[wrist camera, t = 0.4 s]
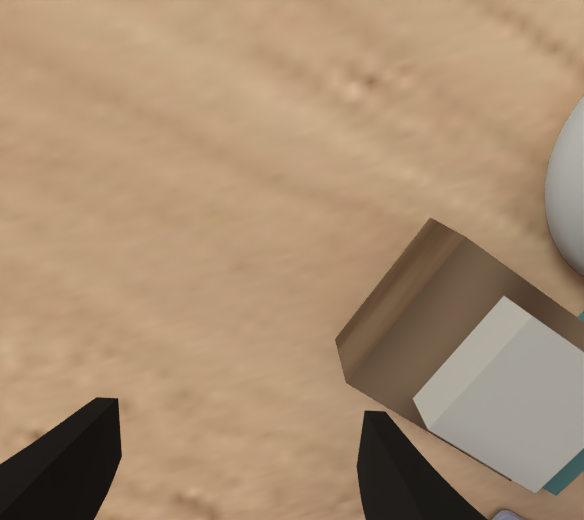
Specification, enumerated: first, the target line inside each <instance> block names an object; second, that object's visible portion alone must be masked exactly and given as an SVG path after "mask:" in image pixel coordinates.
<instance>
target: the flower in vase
mask: <svg viewBox="0 0 584 520" xmlns="http://www.w3.org/2000/svg"><path fill="white" fill-rule="evenodd" d="M545 211H546V217H547V222H548V227H549V230H550V233H551V235H552V238H553V241H554V243H555V245H556V247H557V248H558V250H559V252H560V254H561V255H562V256H563V258H564V259H565V260H566V261H567V263H568V264H569V265H570V266H571V267H572V268H573V269H574V270H575V271H577V272H578V273H579V274H580V275H581V276H583V277H584V96H583V98H582V99H581V100H580V102H579V103H578V104H577V106H576V107H575V108H574V110H573V111H572V113H571V114H570V116H569V118H568V120H567V121H566V123H565V125H564V126H563V128H562V130H561V132H560V134H559V136H558V139H557V141H556V143H555V145H554V148H553V151H552V154H551V157H550V160H549V163H548V168H547V174H546V179H545Z"/></svg>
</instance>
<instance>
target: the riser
mask: <svg viewBox="0 0 584 520" xmlns="http://www.w3.org/2000/svg"><path fill="white" fill-rule="evenodd" d="M503 296H505V297H507V298H508V299H509V300H511V301H512V302H514V303H515V304H517V305H518V306H519V307H521V308H522V309H524V310H525V311H526V312H528V313H529V314H531V315H532V316H534V317H535V318H536V319H538V320H539V321H541V322H542V323H543V324H545V325H546V326H548V327H549V328H551V329H552V330H553V331H555V332H556V333H558V334H559V335H560V336H562V337H563V338H565V339H566V340H568V341H569V342H570V343H572V344H573V345H575V346H576V347H577V348H579V349H580V350H582V351H583V352H584V322H582V321H581V320H580V319H578V318H577V317H576V316H574V315H573V314H571V313H570V312H569V311H567V310H566V309H565V308H563V307H562V306H560V305H559V304H558V303H556V302H555V301H553V300H552V299H551V298H549V297H548V296H547V295H545V294H544V293H542V292H541V291H540V290H538V289H537V288H536V287H534V286H533V285H531V284H530V283H529V282H527V281H526V280H524V279H523V278H522V277H520V276H519V275H518V274H516V273H515V272H513V271H512V270H511V269H509V268H508V267H507V266H505V265H504V264H502V263H501V262H500V261H498V260H497V259H495V258H494V257H493V256H491V255H490V254H489V253H487V252H486V251H484V250H483V249H482V248H480V247H479V246H478V245H476V244H475V243H473V242H472V241H471V240H469V239H468V238H466V237H465V236H463V235H461V234H459V233H458V232H456V231H454V230H452V229H450V228H448V227H447V226H445V225H443V224H441V223H439V222H437V221H436V220H434V219H432V218H430V219H429V220H428V222H427V223H426V224H425V225H424V227H423V228H422V229H421V231H420V232H419V233H418V234H417V236H416V237H415V238H414V239H413V241H412V242H411V243H410V245H409V246H408V247H407V248H406V250H405V251H404V252H403V253H402V255H401V256H400V257H399V259H398V260H397V261H396V262H395V264H394V265H393V266H392V268H391V269H390V270H389V271H388V273H387V274H386V275H385V276H384V278H383V279H382V280H381V282H380V283H379V284H378V285H377V287H376V288H375V289H374V290H373V292H372V293H371V294H370V296H369V297H368V298H367V299H366V301H365V302H364V303H363V305H362V306H361V307H360V308H359V310H358V311H357V312H356V313H355V315H354V316H353V317H352V319H351V320H350V321H349V322H348V324H347V325H346V326H345V327H344V329H343V330H342V331H341V333H340V334H339V335H338V336H337V338H336V339H335V341H336V345H337V349H338V353H339V357H340V361H341V365H342V369H343V373H344V377H345V381H346V383H347V384H349V385H351V386H352V387H354V388H356V389H357V390H359V391H361V392H362V393H364V394H366V395H367V396H369V397H371V398H372V399H374V400H376V401H377V402H379V403H381V404H382V405H384V406H386V407H387V408H389V409H391V410H393V411H394V412H396V413H398V414H399V415H401V416H403V417H404V418H406V419H408V420H409V421H411V422H413V423H414V424H416V425H418V426H419V427H421V428H423V429H424V430H426V431H428V432H429V433H431V434H433V435H434V436H436V437H438V438H439V439H441V440H443V441H445V442H446V443H448V444H450V445H451V446H453V447H455V448H456V449H458V450H460V451H461V452H463V453H465V454H466V455H468V456H470V457H471V458H473V459H475V460H476V461H478V462H480V463H481V464H483V465H485V466H486V467H488V468H490V469H491V470H493V471H495V472H497V473H498V474H500V475H502V476H503V477H505V478H507V479H508V480H510V481H512V480H511V479H510V478H508V477H506V476H505V475H503V474H501V473H500V472H498V471H496V470H495V469H493V468H491V467H490V466H488V465H486V464H485V463H483V462H481V461H480V460H478V459H476V458H475V457H473V456H471V455H470V454H468V453H466V452H465V451H463V450H461V449H460V448H458V447H456V446H455V445H453V444H451V443H450V442H448V441H446V440H445V439H443V438H441V437H440V436H438V435H436V434H434V433H433V432H431V431H429V430H428V429H427V427H426V425H425V423H424V421H423V419H422V417H421V414H420V412H419V410H418V408H417V406H416V404H415V402H414V400H413V398H414V397H415V396H416V394H417V393H418V392H419V391H420V390H421V389H422V388H423V386H424V385H425V384H426V383H427V382H428V381H429V380H430V379H431V377H432V376H433V375H434V374H435V373H436V372H437V371H438V370H439V368H440V367H441V366H442V365H443V364H444V363H445V362H446V360H447V359H448V358H449V357H450V356H451V355H452V354H453V353H454V351H455V350H456V349H457V348H458V347H459V346H460V345H461V344H462V342H463V341H464V340H465V339H466V338H467V337H468V336H469V334H470V333H471V332H472V331H473V330H474V329H475V328H476V327H477V325H478V324H479V323H480V322H481V321H482V320H483V319H484V318H485V316H486V315H487V314H488V313H489V312H490V311H491V310H492V308H493V307H494V306H495V305H496V304H497V303H498V302H499V301H500V299H501V298H502V297H503Z"/></svg>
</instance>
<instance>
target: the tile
mask: <svg viewBox="0 0 584 520" xmlns="http://www.w3.org/2000/svg"><path fill="white" fill-rule="evenodd" d="M413 400H414V402H415V404H416V406H417V408H418V410H419V412H420V414H421V417H422V419H423V421H424V423H425V425H426V427H427V429H428V430H429V431H431V432H433V433H434V434H436V435H438V436H440V437H441V438H443V439H445V440H446V441H448V442H450V443H451V444H453V445H455V446H456V447H458V448H460V449H461V450H463V451H465V452H466V453H468V454H470V455H471V456H473V457H475V458H476V459H478V460H480V461H481V462H483V463H485V464H486V465H488V466H490V467H491V468H493V469H495V470H496V471H498V472H500V473H501V474H503V475H505V476H506V477H508V478H510V479H511V480H513V481H515V482H517V483H518V484H520V485H522V486H523V487H525V488H527V489H528V490H530V491H532V492H533V493H536V492H537V491H538V490H540V489H541V488H542V487H543V486H544V485H545V484H546V483H547V482H548V481H549V480H550V479H551V478H552V477H553V476H554V475H556V474H557V473H558V472H559V471H560V470H561V469H562V468H563V467H564V466H565V465H566V464H567V463H568V462H569V461H570V460H572V459H573V458H574V457H575V456H576V455H577V454H578V453H579V452H580V451H581V450H582V449H583V448H584V352H583V351H582V350H580V349H579V348H577V347H576V346H575V345H573V344H572V343H570V342H569V341H568V340H566V339H565V338H563V337H562V336H560V335H559V334H558V333H556V332H555V331H553V330H552V329H551V328H549V327H548V326H546V325H545V324H543V323H542V322H541V321H539V320H538V319H536V318H535V317H534V316H532V315H531V314H529V313H528V312H526V311H525V310H524V309H522V308H521V307H519V306H518V305H517V304H515V303H514V302H512V301H511V300H509V299H508V298H507V297H505V296H503V297H502V298H501V299H500V301H499V302H498V303H497V304H496V305H495V306H494V307H493V308H492V310H491V311H490V312H489V313H488V314H487V315H486V316H485V318H484V319H483V320H482V321H481V322H480V323H479V324H478V325H477V327H476V328H475V329H474V330H473V331H472V332H471V333H470V334H469V336H468V337H467V338H466V339H465V340H464V341H463V342H462V344H461V345H460V346H459V347H458V348H457V349H456V350H455V351H454V353H453V354H452V355H451V356H450V357H449V358H448V359H447V360H446V362H445V363H444V364H443V365H442V366H441V367H440V368H439V370H438V371H437V372H436V373H435V374H434V375H433V376H432V377H431V379H430V380H429V381H428V382H427V383H426V384H425V385H424V386H423V388H422V389H421V390H420V391H419V392H418V393H417V394H416V396H415V397H414V398H413Z"/></svg>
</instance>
